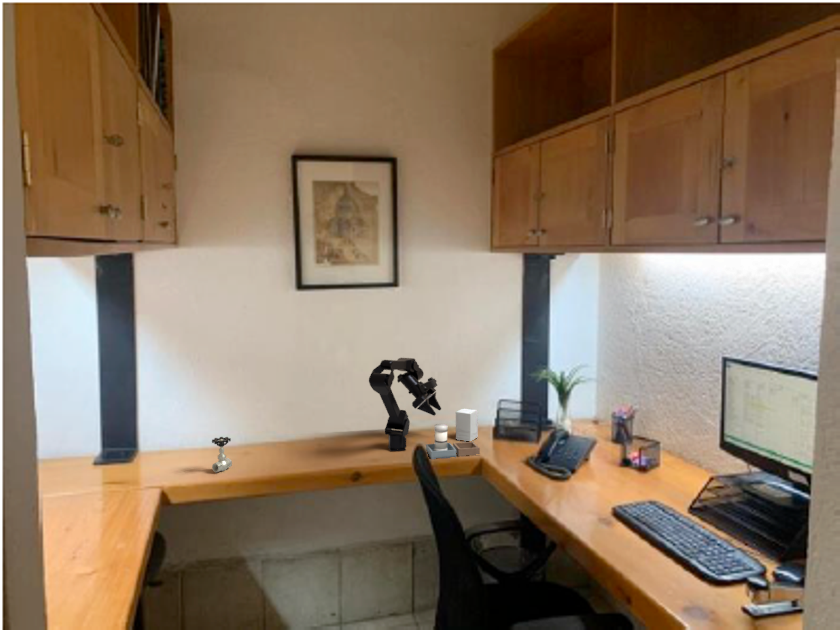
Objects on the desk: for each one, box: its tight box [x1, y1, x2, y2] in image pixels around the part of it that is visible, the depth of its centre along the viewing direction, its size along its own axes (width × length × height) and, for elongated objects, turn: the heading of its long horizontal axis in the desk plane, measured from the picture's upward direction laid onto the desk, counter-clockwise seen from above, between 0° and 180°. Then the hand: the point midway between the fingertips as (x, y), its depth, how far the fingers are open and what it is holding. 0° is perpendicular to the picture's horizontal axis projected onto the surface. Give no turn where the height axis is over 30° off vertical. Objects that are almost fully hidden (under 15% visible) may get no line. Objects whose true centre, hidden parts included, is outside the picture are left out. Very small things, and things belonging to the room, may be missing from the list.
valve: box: [211, 436, 233, 474], centre depth 237 cm, size 7×7×12 cm
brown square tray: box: [452, 441, 481, 457], centre depth 258 cm, size 9×9×3 cm
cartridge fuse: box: [434, 423, 449, 451], centre depth 255 cm, size 5×5×11 cm
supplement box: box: [455, 408, 479, 442], centre depth 276 cm, size 7×7×13 cm
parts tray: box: [425, 442, 457, 460], centre depth 255 cm, size 10×10×3 cm
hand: (437, 412), depth 269 cm, fingers open, 9 cm apart
